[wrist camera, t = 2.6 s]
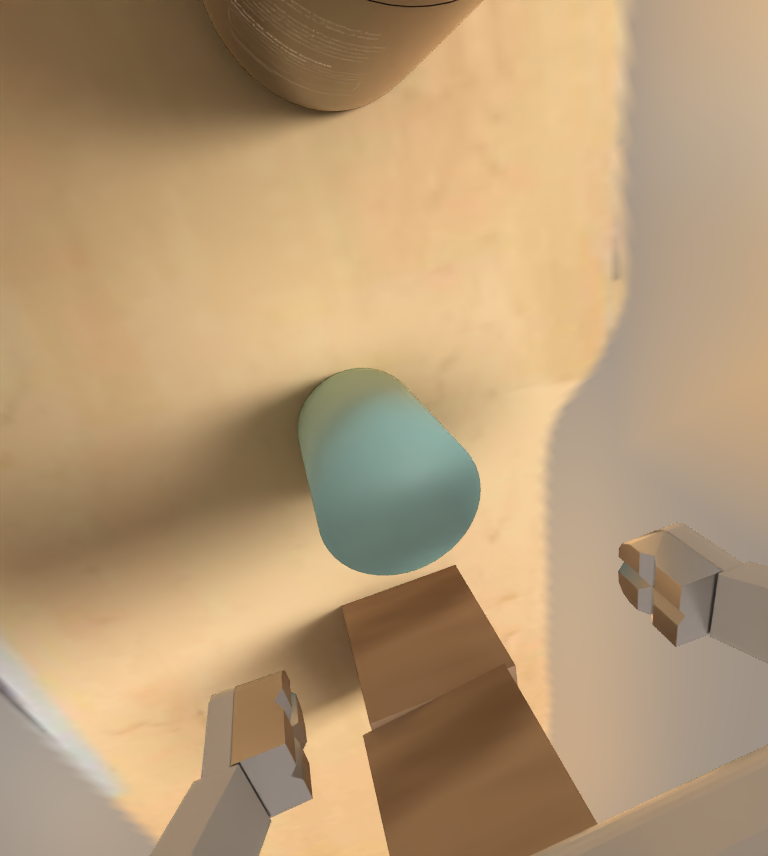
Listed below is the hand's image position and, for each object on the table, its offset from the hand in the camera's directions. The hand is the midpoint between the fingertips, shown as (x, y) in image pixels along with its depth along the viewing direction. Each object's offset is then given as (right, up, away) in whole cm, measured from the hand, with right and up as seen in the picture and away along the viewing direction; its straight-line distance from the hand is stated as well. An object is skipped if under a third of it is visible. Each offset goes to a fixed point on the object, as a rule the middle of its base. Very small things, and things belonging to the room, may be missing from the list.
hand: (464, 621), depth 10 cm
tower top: (+1, -8, +8) cm, 12 cm away
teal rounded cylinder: (-3, +4, +8) cm, 10 cm away
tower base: (0, -6, +14) cm, 15 cm away
